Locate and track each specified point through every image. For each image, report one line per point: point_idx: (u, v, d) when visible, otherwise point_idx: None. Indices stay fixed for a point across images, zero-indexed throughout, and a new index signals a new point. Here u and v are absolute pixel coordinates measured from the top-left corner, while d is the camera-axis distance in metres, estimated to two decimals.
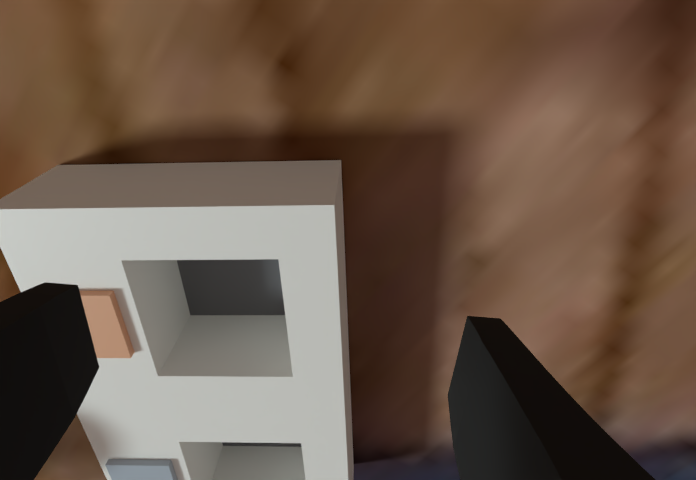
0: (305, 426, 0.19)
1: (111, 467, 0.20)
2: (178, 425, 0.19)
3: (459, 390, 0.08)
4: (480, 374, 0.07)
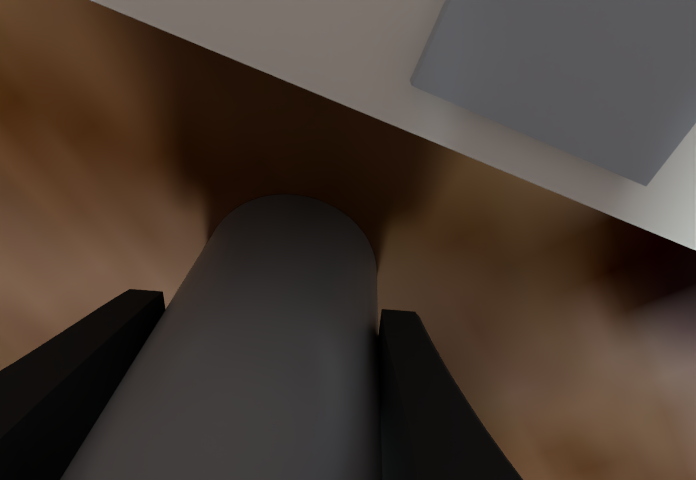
0: None
1: (437, 68, 0.05)
2: None
3: None
4: (383, 366, 0.07)
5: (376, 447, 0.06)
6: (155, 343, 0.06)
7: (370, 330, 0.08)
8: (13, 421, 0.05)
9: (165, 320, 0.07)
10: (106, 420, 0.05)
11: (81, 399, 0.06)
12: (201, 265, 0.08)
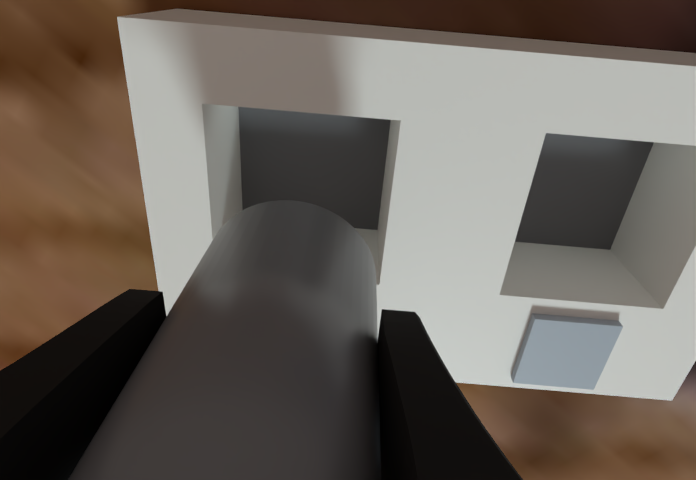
0: (508, 119, 0.12)
1: (519, 378, 0.16)
2: (468, 286, 0.15)
3: None
4: (383, 366, 0.07)
5: (373, 449, 0.06)
6: (152, 354, 0.06)
7: (367, 332, 0.08)
8: (13, 421, 0.05)
9: (163, 330, 0.07)
10: (104, 432, 0.05)
11: (81, 399, 0.06)
12: (198, 274, 0.08)
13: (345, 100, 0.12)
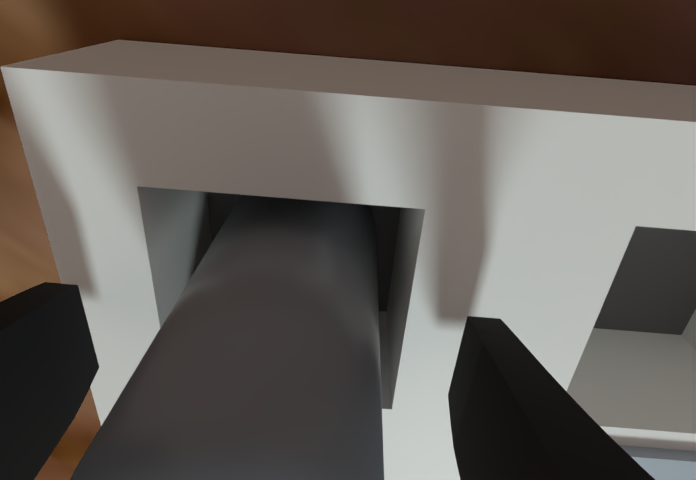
0: (583, 208, 0.08)
1: None
2: None
3: (459, 390, 0.08)
4: (480, 374, 0.07)
5: (374, 338, 0.08)
6: (203, 268, 0.08)
7: (369, 264, 0.10)
8: None
9: (208, 255, 0.09)
10: (174, 314, 0.07)
11: None
12: (231, 219, 0.10)
13: (344, 182, 0.08)
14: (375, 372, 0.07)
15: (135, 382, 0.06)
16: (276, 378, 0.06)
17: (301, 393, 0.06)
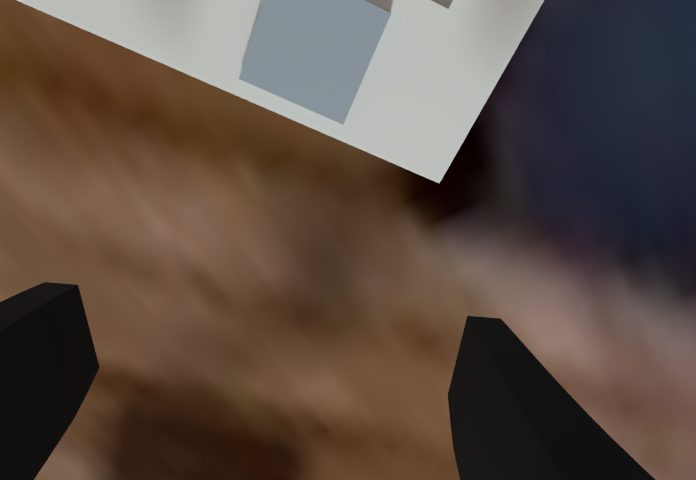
0: None
1: (247, 72, 0.11)
2: None
3: (459, 390, 0.08)
4: (480, 374, 0.07)
5: None
6: None
7: None
8: None
9: None
10: None
11: None
12: None
13: None
14: None
15: None
16: None
17: None
